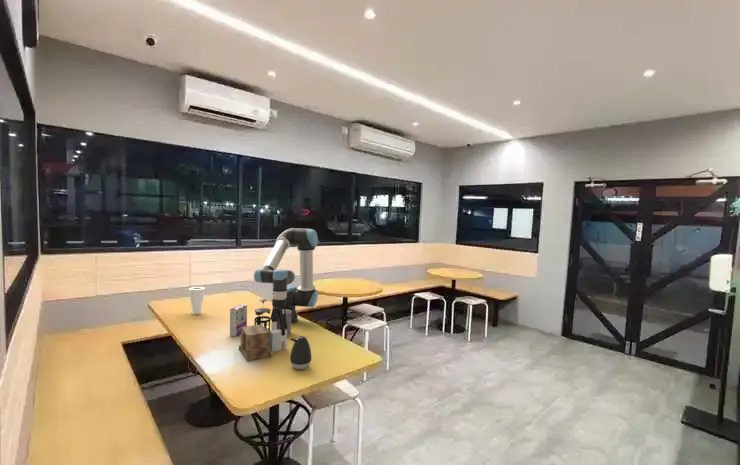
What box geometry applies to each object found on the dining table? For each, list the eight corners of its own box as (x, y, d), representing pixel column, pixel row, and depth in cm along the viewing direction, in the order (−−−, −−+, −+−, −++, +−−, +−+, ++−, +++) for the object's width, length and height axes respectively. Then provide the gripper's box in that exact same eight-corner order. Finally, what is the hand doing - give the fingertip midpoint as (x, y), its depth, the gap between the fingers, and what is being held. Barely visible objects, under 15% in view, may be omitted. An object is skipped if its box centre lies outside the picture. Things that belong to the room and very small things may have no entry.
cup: (208, 313, 251) (208, 288, 250) (193, 316, 242) (194, 290, 241) (199, 310, 257) (199, 286, 256) (185, 313, 248) (185, 288, 247)
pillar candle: (271, 332, 217) (272, 308, 216) (285, 329, 224) (286, 306, 223) (280, 337, 211) (281, 312, 210) (294, 333, 218) (295, 309, 217)
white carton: (283, 346, 196) (283, 328, 196) (286, 349, 192) (287, 331, 192) (269, 348, 192) (269, 330, 191) (272, 351, 188) (272, 333, 187)
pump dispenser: (290, 362, 175) (292, 332, 175) (312, 363, 176) (313, 333, 175) (287, 371, 165) (289, 340, 164) (310, 372, 166) (311, 340, 165)
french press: (273, 339, 206) (274, 300, 204) (257, 342, 200) (258, 302, 198) (265, 333, 215) (266, 296, 213) (249, 336, 209) (251, 298, 208)
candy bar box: (239, 330, 219) (240, 304, 218) (247, 331, 218) (247, 304, 217) (229, 336, 208) (229, 308, 207) (236, 337, 207) (237, 309, 206)
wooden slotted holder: (263, 345, 197) (263, 323, 196) (273, 356, 182) (274, 332, 181) (238, 349, 189) (239, 326, 189) (247, 361, 174) (248, 336, 174)
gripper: (265, 294, 199) (264, 331, 200) (280, 304, 178) (278, 345, 179) (278, 293, 203) (277, 329, 204) (294, 302, 182) (293, 343, 183)
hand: (278, 337), depth 191 cm, fingers open, 13 cm apart
